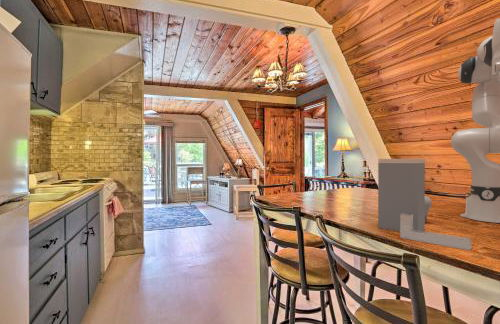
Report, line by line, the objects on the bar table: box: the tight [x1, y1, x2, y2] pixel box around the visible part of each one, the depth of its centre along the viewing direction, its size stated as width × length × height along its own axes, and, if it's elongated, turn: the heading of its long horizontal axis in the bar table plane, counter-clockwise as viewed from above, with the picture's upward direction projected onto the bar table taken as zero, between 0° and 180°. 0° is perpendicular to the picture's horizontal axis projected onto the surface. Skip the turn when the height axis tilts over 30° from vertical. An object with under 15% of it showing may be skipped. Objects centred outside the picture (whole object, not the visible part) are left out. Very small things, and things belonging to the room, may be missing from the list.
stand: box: [377, 158, 426, 232], centre depth 102 cm, size 10×13×26 cm
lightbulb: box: [425, 195, 433, 222], centre depth 112 cm, size 6×6×11 cm
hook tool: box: [399, 213, 472, 251], centre depth 85 cm, size 3×18×8 cm, turn 46°
